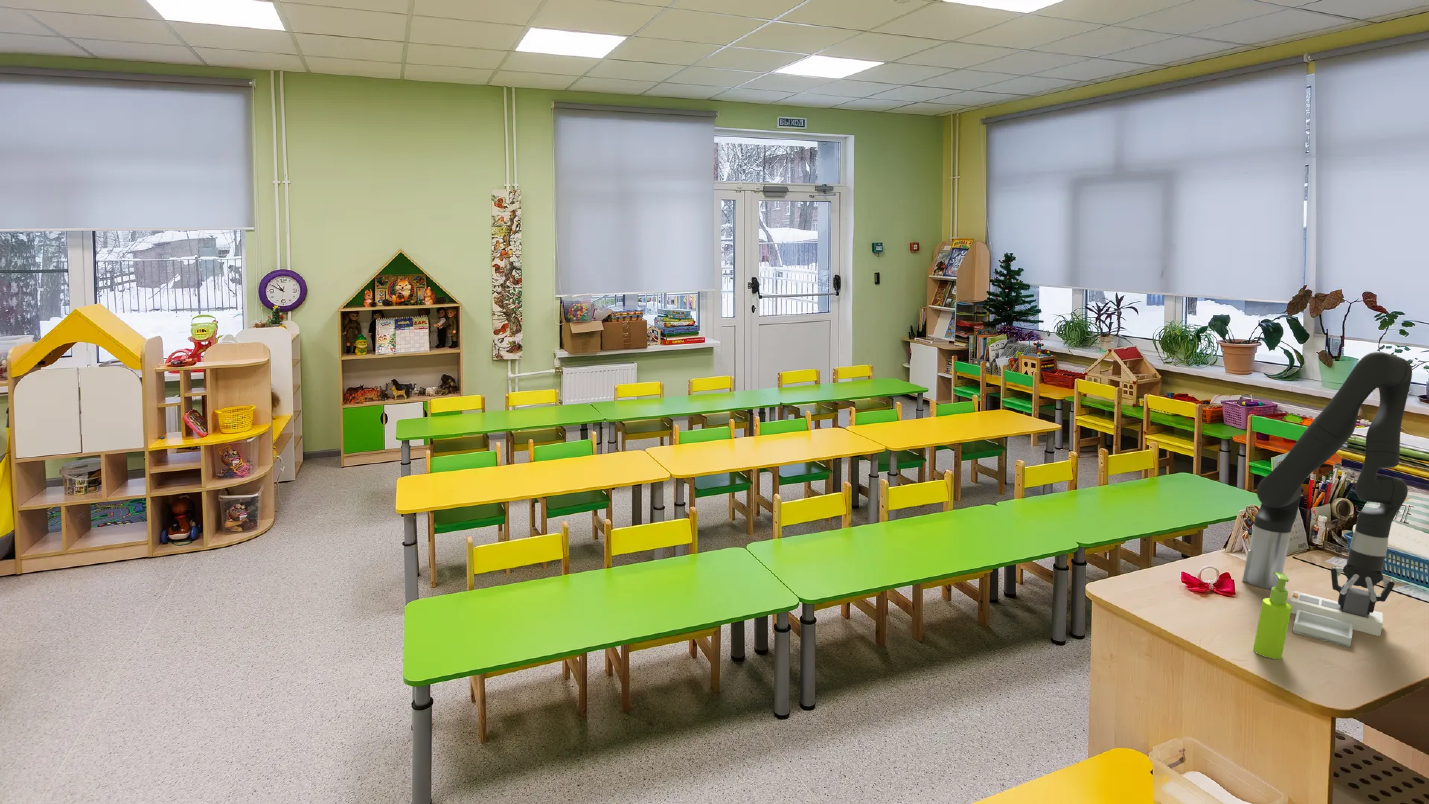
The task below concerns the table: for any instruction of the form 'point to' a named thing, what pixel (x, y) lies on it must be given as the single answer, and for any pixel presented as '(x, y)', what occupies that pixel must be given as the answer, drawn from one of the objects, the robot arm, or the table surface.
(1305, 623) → the tray
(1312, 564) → the table surface
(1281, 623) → the soap dispenser
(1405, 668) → the table surface
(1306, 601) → the power strip
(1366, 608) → the block
